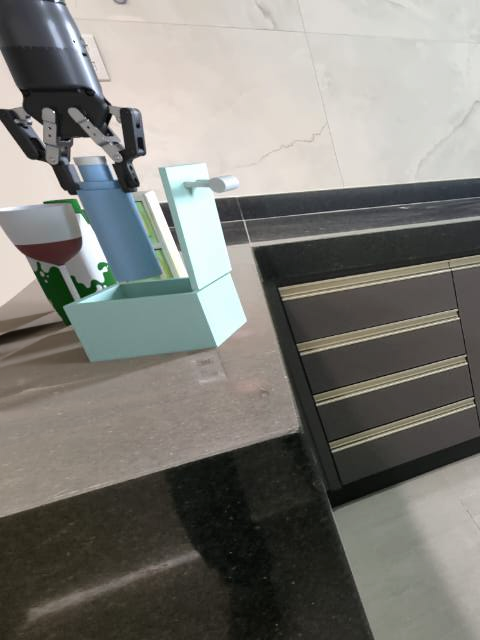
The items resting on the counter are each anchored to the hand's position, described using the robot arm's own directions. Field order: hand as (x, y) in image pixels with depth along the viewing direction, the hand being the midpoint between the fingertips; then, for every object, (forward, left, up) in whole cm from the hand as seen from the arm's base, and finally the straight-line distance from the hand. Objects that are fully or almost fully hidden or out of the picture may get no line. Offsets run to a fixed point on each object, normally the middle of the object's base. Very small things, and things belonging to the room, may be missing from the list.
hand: (104, 192), depth 70 cm
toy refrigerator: (-6, +15, -23) cm, 28 cm away
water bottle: (0, 0, -11) cm, 11 cm away
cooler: (+1, 0, -22) cm, 22 cm away
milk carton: (-20, +22, -22) cm, 37 cm away
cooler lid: (+9, 0, -5) cm, 10 cm away
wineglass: (-16, +13, -22) cm, 30 cm away
